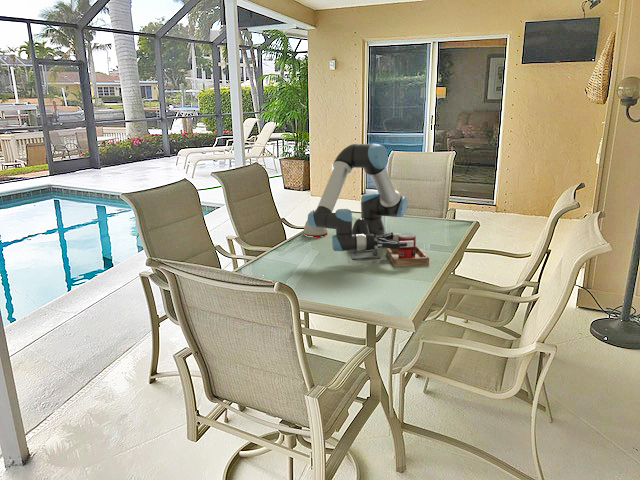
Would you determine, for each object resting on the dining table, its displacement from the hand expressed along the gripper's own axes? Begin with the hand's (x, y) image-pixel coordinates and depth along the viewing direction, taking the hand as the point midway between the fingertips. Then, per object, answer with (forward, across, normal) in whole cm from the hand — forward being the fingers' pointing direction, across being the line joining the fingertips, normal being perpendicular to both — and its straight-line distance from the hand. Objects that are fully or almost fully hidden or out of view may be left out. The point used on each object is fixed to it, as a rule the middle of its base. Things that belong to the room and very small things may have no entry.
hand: (410, 239), depth 230 cm
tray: (-1, 0, -9) cm, 10 cm away
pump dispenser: (-20, -25, -10) cm, 34 cm away
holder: (-20, -10, -9) cm, 25 cm away
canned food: (-1, 0, -9) cm, 9 cm away
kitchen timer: (-43, -55, -10) cm, 71 cm away
